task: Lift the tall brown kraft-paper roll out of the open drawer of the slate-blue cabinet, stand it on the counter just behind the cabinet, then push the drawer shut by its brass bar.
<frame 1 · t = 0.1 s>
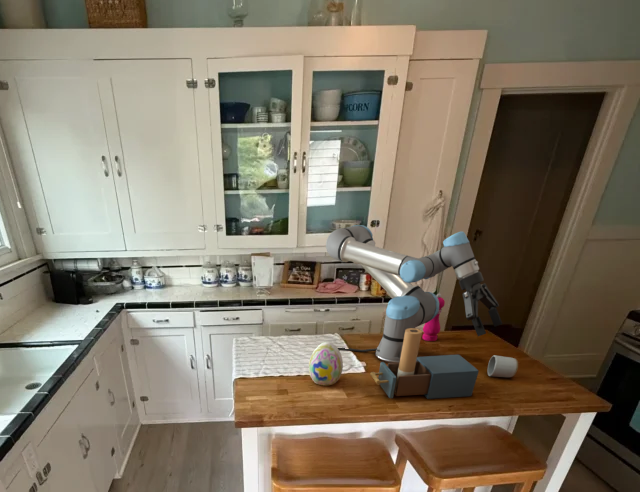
hand: (490, 330, 155), 15 cm above the counter, tool tilted 35°, fingers open, 13 cm apart
cabinet: (440, 388, 151), on the counter
drawer: (399, 379, 147), point 5 cm above the counter, slide at 12.0 cm, touching paper roll
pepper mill: (429, 339, 190), on the counter
paper roll: (403, 385, 149), point 2 cm above the counter, touching drawer
decorative egg: (324, 381, 158), on the counter
ceramic mug: (497, 374, 159), on the counter
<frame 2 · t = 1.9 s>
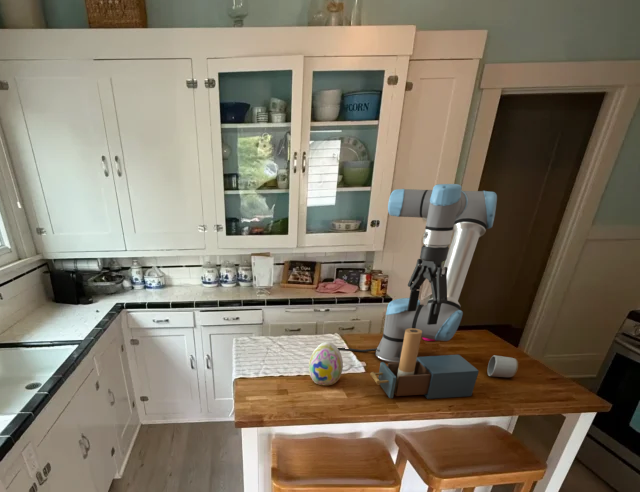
hand: (421, 317, 135), 27 cm above the counter, tool pointing down, fingers open, 13 cm apart
nothing on the counter moved.
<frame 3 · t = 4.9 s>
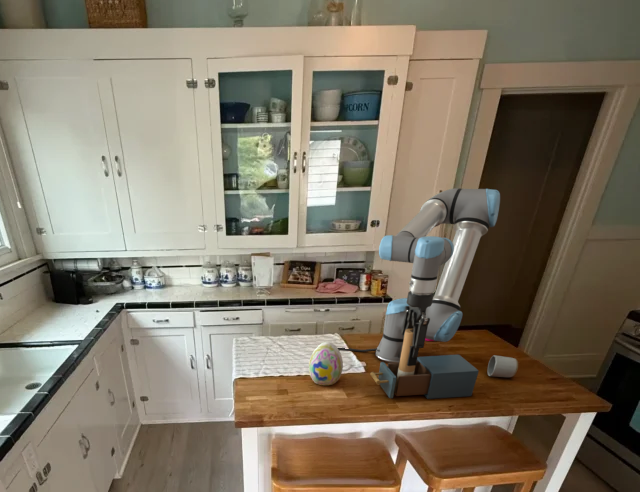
hand: (407, 361, 144), 11 cm above the counter, tool pointing down, fingers closed on paper roll, 5 cm apart
paper roll: (403, 385, 149), point 2 cm above the counter, touching drawer, gripper
everything else where it was.
when the fingers open (9 cm above the counter, at t = 13.3 s): paper roll stays where it is, on the counter.
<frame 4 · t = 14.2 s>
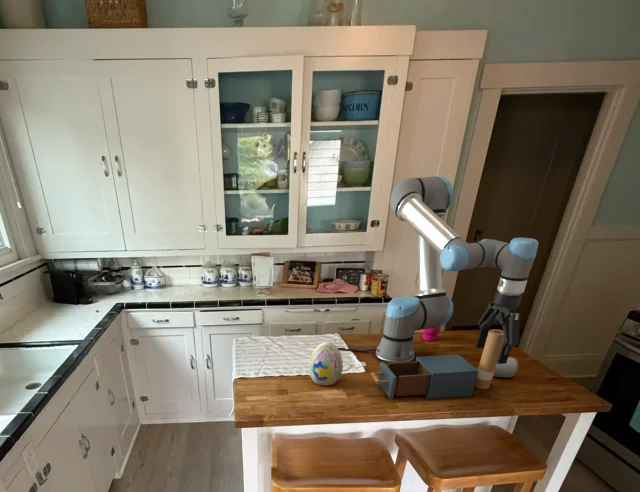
hand: (490, 355, 145), 12 cm above the counter, tool pointing down, fingers open, 13 cm apart
drawer: (399, 379, 147), point 5 cm above the counter, slide at 12.0 cm
paper roll: (481, 385, 152), on the counter
everything else where it was.
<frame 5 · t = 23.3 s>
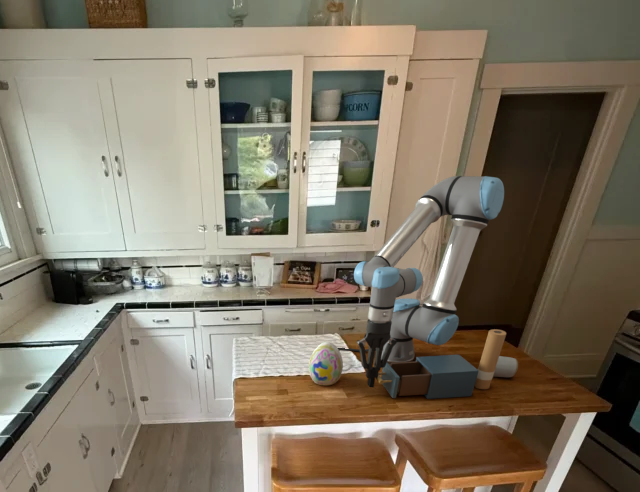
hand: (370, 385, 148), 3 cm above the counter, tool pointing down, fingers closed
drawer: (402, 378, 147), point 5 cm above the counter, slide at 10.9 cm, touching gripper
everything else where it was.
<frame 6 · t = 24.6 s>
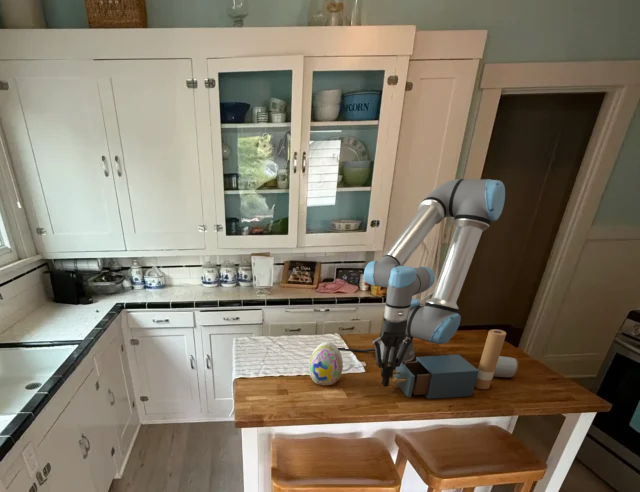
hand: (384, 384, 148), 3 cm above the counter, tool pointing down, fingers closed
drawer: (416, 377, 148), point 5 cm above the counter, slide at 5.8 cm, touching gripper
everything else where it was.
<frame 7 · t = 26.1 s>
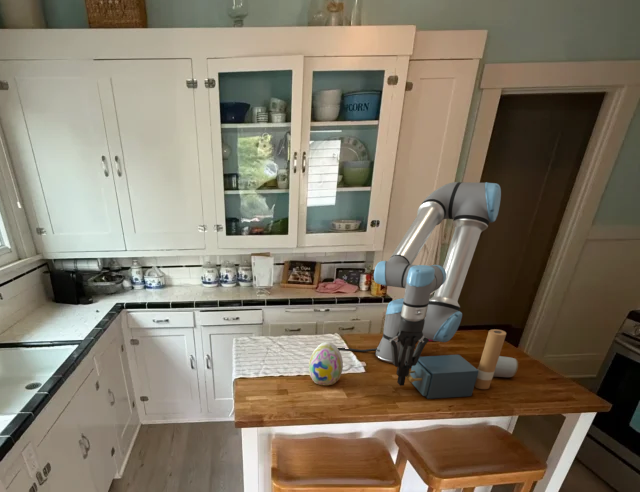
hand: (400, 383, 148), 3 cm above the counter, tool pointing down, fingers closed
drawer: (432, 376, 148), point 5 cm above the counter, slide at 0.2 cm, touching gripper
everything else where it was.
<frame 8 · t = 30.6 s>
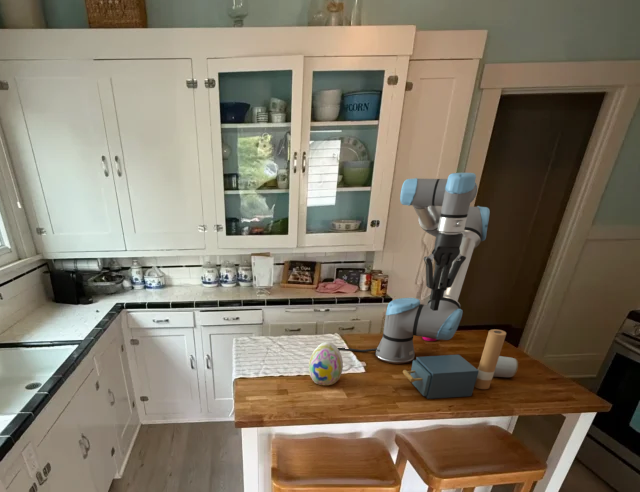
hand: (433, 309, 142), 26 cm above the counter, tool pointing down, fingers closed
drawer: (432, 376, 148), point 5 cm above the counter, slide at 0.2 cm
everything else where it was.
at the end: paper roll 0.1 cm from the target spot, on the counter; paper roll tilted 0°; drawer slide at 0.2 cm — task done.
